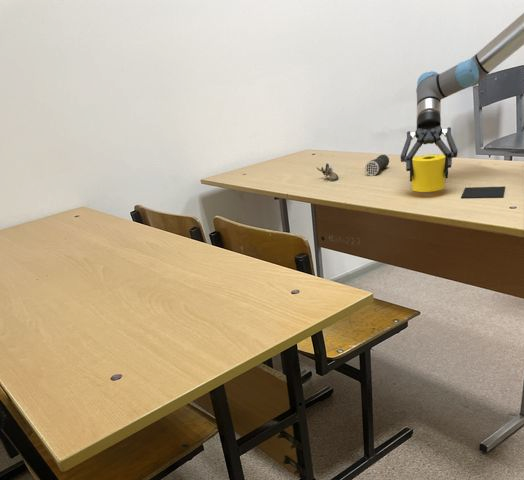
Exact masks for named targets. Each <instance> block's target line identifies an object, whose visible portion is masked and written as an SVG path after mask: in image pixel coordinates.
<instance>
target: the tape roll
mask: <svg viewBox="0 0 524 480" xmlns="http://www.w3.org/2000/svg"><path fill="white" fill-rule="evenodd" d="M445 182H446V179H445V155H444V154H435V153H434V154H423V155H418V156H414V157H413V159H412V181H411V189H412V191H414V192H420V193H431V192H436V191H441V190H443V189H444V188H445V186H446V185H445Z"/></svg>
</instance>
